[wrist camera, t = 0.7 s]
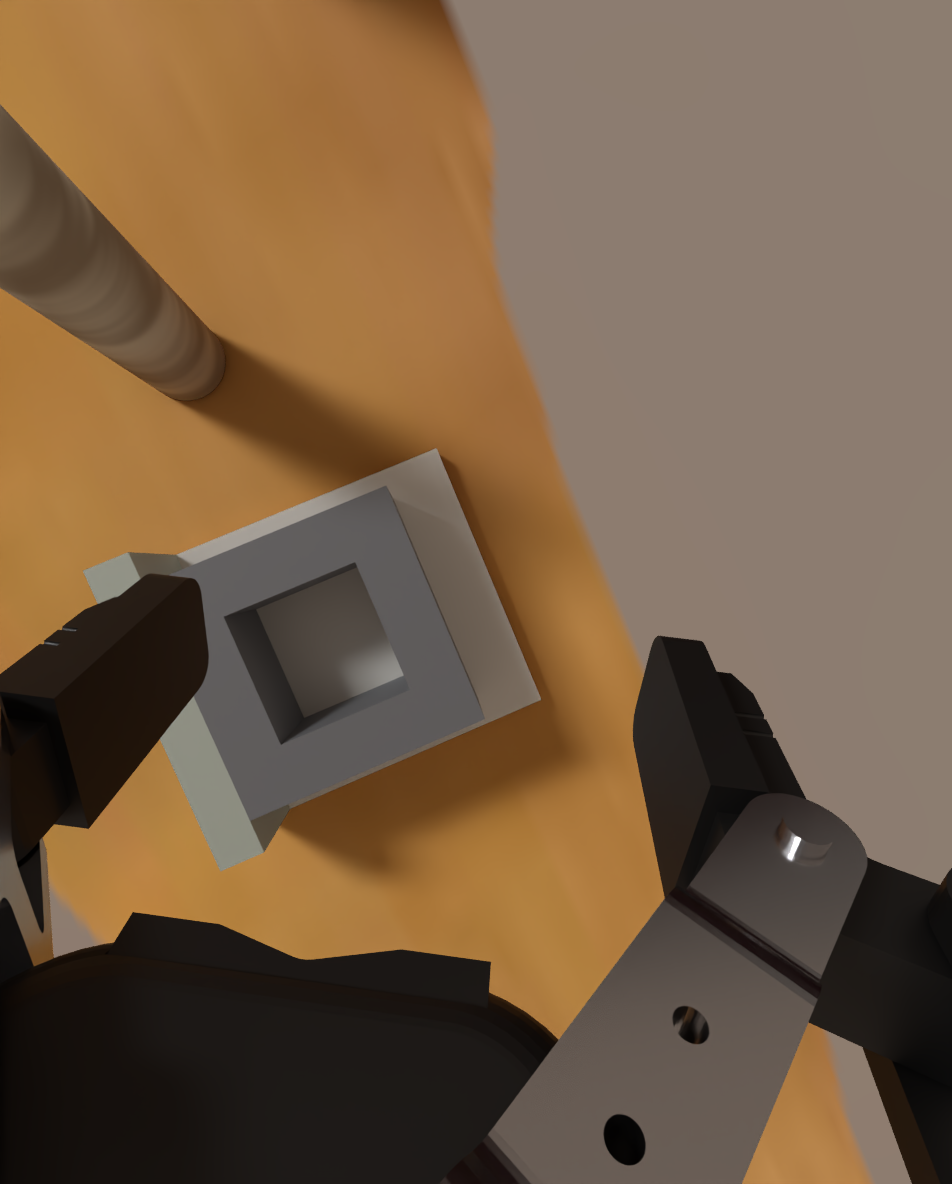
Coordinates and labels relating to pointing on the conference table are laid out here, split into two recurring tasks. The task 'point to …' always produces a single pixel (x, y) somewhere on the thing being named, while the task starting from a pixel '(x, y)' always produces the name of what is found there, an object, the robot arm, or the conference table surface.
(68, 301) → the dowel
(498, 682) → the dowel dock
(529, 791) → the conference table surface
